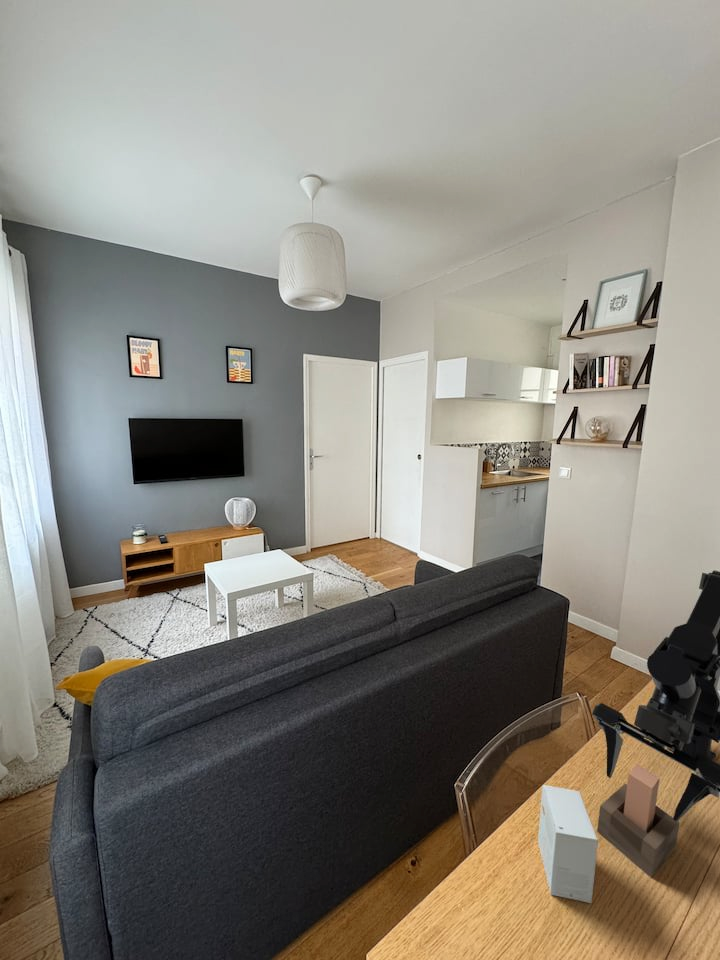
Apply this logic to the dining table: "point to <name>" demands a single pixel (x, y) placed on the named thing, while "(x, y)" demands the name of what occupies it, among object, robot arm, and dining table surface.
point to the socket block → (638, 833)
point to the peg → (641, 797)
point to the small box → (567, 844)
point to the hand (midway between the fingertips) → (639, 797)
